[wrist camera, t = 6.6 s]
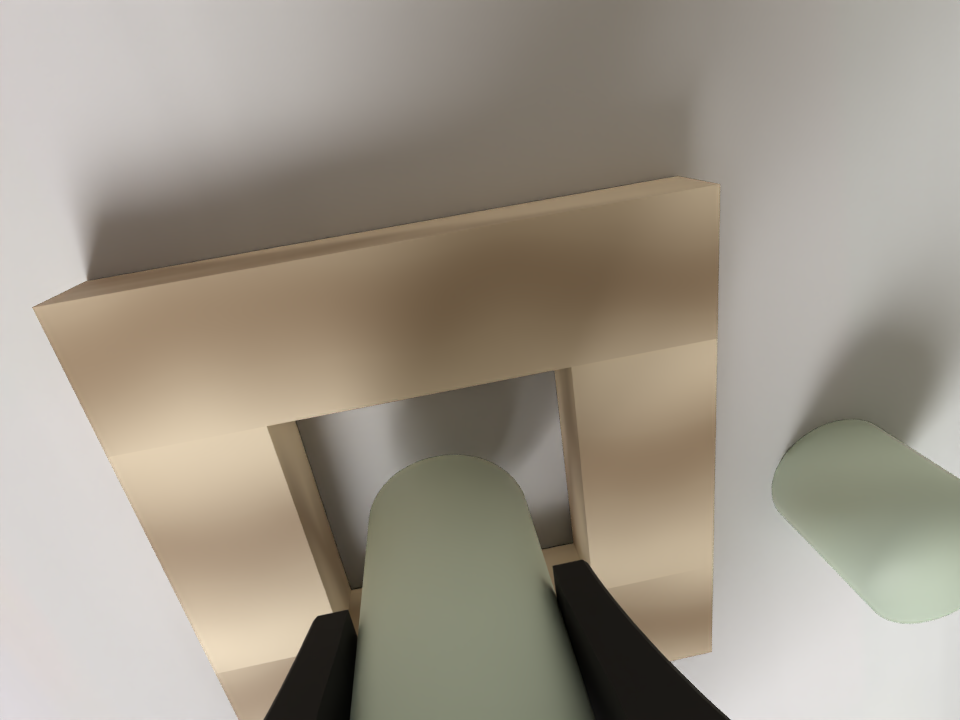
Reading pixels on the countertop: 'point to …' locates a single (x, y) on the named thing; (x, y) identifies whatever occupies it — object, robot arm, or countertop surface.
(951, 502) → the short peg
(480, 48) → the countertop surface
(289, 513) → the hole board
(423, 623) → the tall peg
